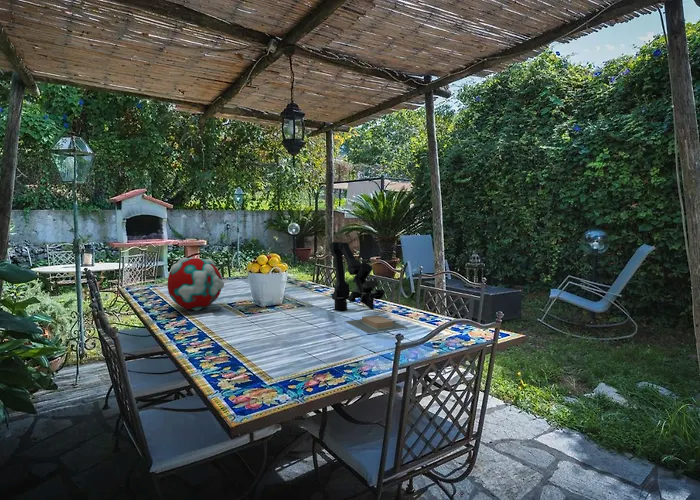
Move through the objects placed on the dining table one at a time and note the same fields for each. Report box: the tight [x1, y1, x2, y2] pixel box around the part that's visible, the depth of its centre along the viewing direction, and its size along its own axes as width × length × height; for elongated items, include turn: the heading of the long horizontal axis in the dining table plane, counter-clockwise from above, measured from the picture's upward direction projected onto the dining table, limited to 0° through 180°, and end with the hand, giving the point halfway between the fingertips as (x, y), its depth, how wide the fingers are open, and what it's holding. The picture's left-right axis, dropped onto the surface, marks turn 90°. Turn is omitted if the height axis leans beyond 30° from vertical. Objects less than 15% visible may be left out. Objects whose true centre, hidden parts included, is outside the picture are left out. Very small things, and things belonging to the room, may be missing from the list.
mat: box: [344, 318, 409, 336], centre depth 203 cm, size 24×22×1 cm
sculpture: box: [166, 257, 225, 311], centre depth 237 cm, size 32×30×30 cm
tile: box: [361, 314, 393, 330], centre depth 201 cm, size 3×9×14 cm
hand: (372, 309), depth 205 cm, fingers closed
